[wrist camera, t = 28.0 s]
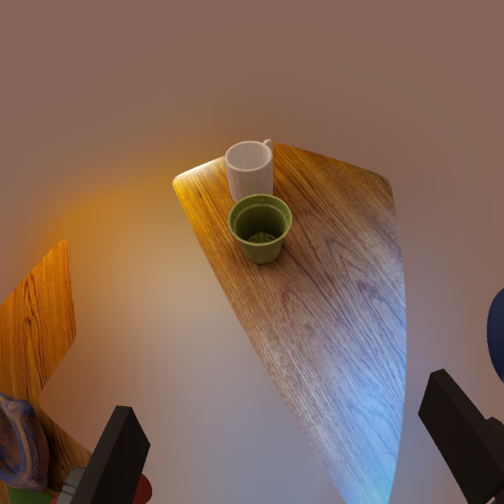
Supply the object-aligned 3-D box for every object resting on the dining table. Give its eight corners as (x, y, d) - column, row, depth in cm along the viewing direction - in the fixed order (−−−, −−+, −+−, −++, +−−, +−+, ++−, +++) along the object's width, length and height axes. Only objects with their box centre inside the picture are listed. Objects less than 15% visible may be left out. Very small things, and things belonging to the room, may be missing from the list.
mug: (290, 175, 58) (291, 137, 50) (258, 215, 54) (255, 177, 45) (256, 161, 61) (254, 125, 52) (223, 198, 56) (215, 161, 48)
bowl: (10, 472, 28) (-24, 472, 19) (2, 393, 37) (-32, 383, 28) (72, 496, 28) (36, 504, 19) (60, 403, 37) (22, 396, 28)
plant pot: (223, 253, 50) (214, 223, 43) (257, 217, 53) (254, 184, 46) (267, 284, 47) (265, 257, 39) (300, 243, 50) (304, 212, 43)
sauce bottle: (160, 488, 31) (99, 521, 15) (137, 511, 28) (73, 545, 13) (127, 459, 33) (54, 473, 17) (106, 483, 30) (33, 500, 15)
